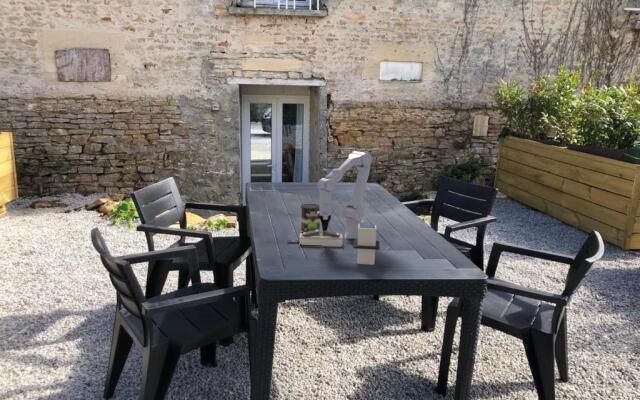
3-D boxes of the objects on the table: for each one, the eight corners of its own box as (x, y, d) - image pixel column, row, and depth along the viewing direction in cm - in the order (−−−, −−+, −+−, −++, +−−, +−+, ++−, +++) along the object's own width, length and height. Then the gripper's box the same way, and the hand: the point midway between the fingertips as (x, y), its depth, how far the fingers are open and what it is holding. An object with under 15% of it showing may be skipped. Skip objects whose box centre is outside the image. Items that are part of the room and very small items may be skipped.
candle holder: (393, 254, 217) (395, 220, 214) (395, 273, 194) (397, 235, 190) (339, 251, 220) (340, 217, 216) (335, 270, 196) (336, 232, 193)
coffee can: (322, 233, 247) (322, 207, 244) (303, 234, 244) (303, 208, 241) (317, 228, 257) (317, 203, 254) (298, 229, 254) (299, 204, 251)
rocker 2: (338, 236, 232) (339, 233, 232) (338, 238, 228) (339, 235, 228) (322, 232, 232) (323, 229, 232) (322, 234, 228) (323, 231, 228)
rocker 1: (319, 232, 232) (318, 228, 232) (319, 234, 228) (318, 231, 228) (303, 235, 232) (303, 232, 232) (303, 238, 228) (302, 234, 228)
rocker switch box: (341, 240, 235) (341, 233, 235) (342, 246, 227) (342, 238, 226) (288, 239, 235) (288, 232, 234) (287, 245, 227) (287, 237, 226)
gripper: (317, 199, 234) (316, 225, 237) (317, 206, 220) (316, 234, 222) (331, 200, 234) (330, 226, 237) (332, 206, 220) (331, 234, 222)
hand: (324, 230), depth 230 cm, fingers closed
